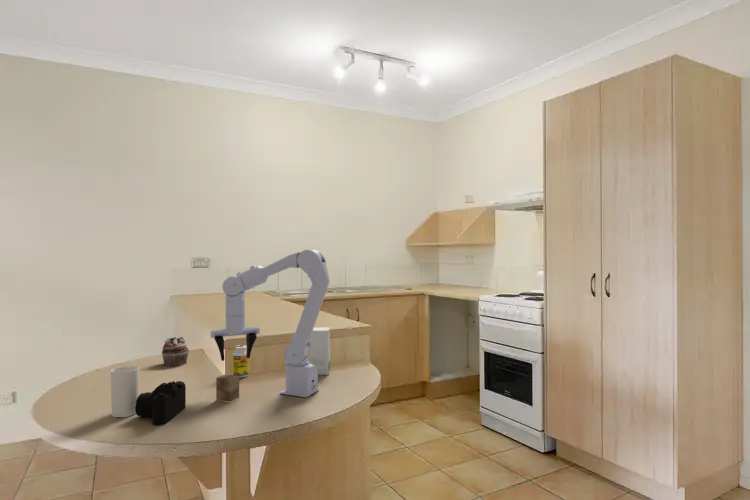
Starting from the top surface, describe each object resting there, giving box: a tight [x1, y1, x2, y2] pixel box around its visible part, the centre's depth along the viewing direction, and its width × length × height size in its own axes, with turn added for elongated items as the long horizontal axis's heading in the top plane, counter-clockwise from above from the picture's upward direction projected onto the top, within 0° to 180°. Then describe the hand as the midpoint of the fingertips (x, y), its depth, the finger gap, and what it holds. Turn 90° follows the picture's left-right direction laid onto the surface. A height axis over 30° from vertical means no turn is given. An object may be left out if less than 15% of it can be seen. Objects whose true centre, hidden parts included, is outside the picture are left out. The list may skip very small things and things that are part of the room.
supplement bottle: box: [231, 345, 250, 379], centre depth 164 cm, size 6×6×10 cm
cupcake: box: [161, 336, 190, 367], centre depth 181 cm, size 10×10×10 cm
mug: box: [110, 365, 140, 418], centre depth 128 cm, size 10×7×12 cm, turn 11°
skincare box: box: [310, 326, 331, 376], centre depth 169 cm, size 8×7×16 cm
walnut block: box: [215, 373, 240, 404], centre depth 139 cm, size 5×4×7 cm
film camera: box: [135, 380, 187, 427], centre depth 125 cm, size 15×10×9 cm, turn 178°
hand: (235, 358), depth 147 cm, fingers open, 7 cm apart
